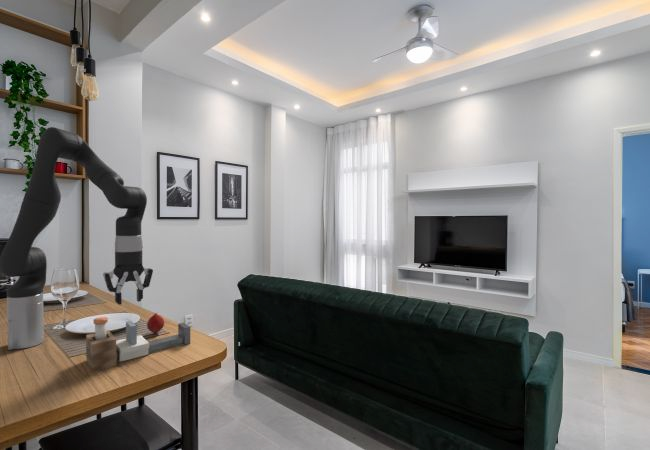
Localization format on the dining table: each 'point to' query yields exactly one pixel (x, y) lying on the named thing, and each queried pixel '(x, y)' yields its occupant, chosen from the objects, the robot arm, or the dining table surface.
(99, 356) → the wooden block holder
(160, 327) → the onion
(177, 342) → the rail
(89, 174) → the robot arm
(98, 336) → the white orange cylinder
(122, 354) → the carriage
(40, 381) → the dining table surface
